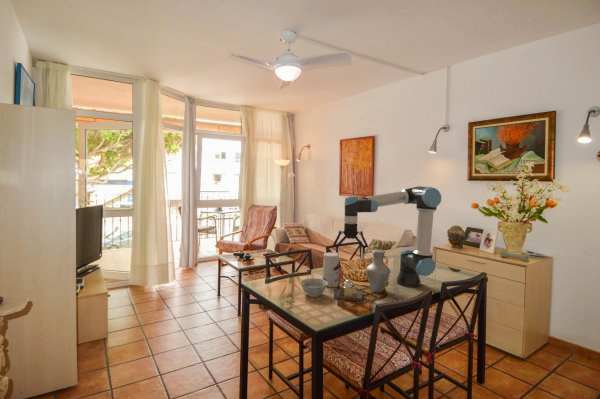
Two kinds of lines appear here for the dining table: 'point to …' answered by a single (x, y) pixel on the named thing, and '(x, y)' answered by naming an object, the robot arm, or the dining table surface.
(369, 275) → the vase
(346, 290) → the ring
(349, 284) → the piston block
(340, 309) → the dining table surface
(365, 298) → the dining table surface
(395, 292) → the dining table surface
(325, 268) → the container
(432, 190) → the robot arm
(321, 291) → the bowl
